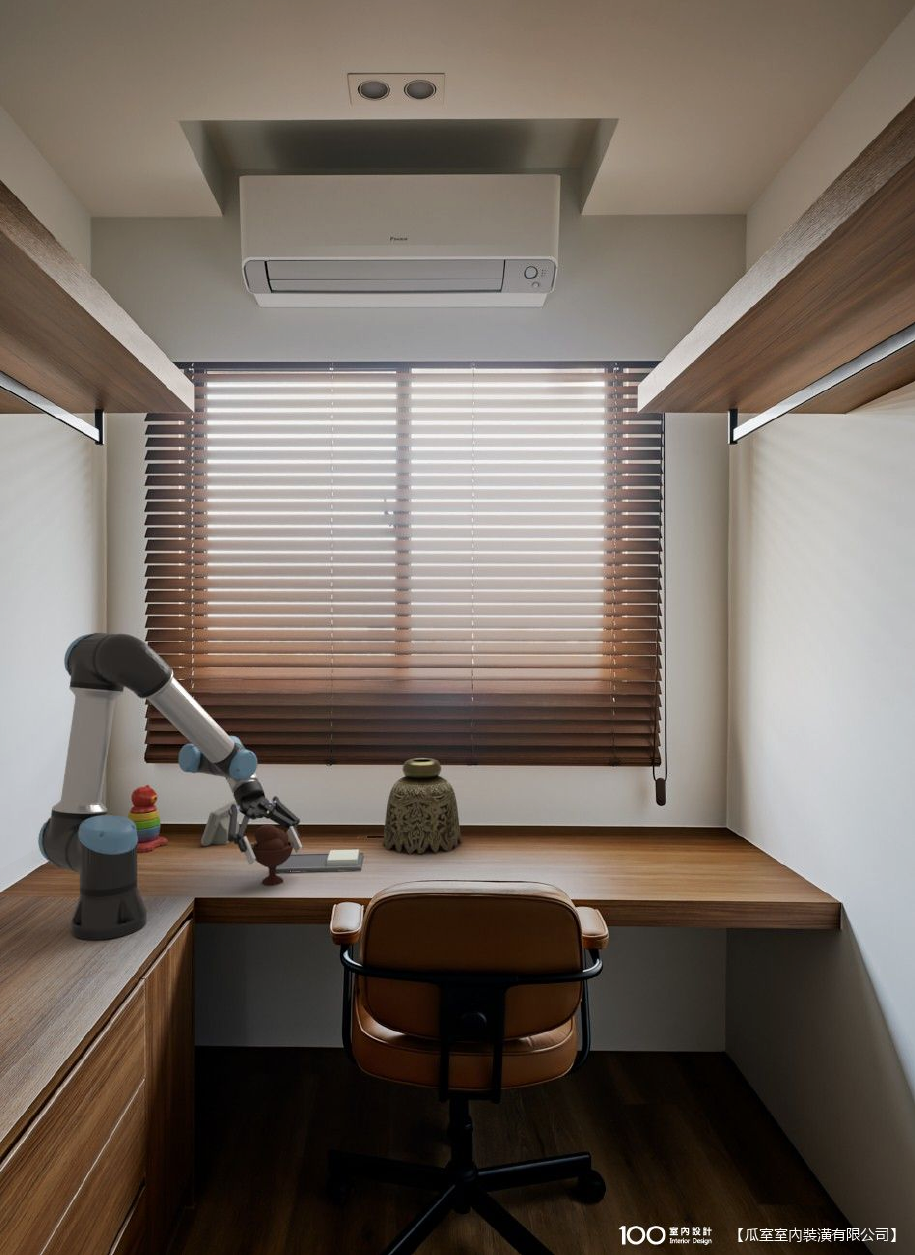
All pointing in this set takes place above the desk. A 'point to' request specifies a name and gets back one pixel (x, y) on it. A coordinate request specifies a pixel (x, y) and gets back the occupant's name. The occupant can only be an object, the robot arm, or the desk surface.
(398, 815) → the lamp shade
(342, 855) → the pale green flat block
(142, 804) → the stacking bear
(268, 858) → the ice cream bowl
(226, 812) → the digital clock
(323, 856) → the tray
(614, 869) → the desk surface
